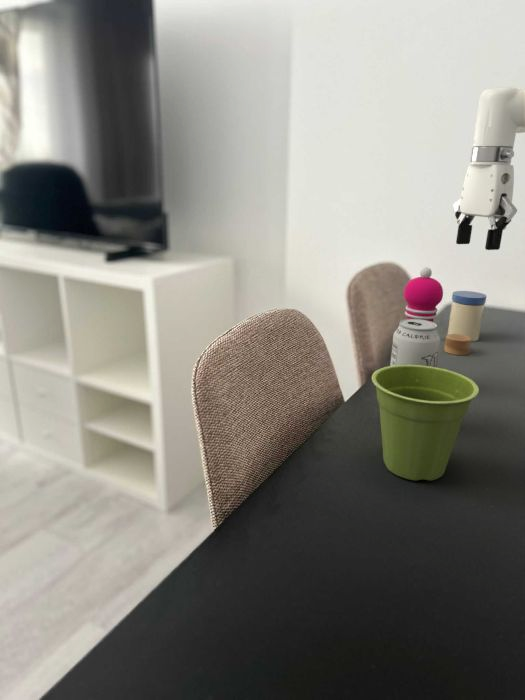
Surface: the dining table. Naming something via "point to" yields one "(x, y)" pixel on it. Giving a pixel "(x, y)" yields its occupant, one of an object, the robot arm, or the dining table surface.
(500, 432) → the dining table surface
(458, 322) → the jar
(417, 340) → the energy drink can
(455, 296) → the jar lid
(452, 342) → the stand
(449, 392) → the plant pot
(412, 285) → the pepper mill
